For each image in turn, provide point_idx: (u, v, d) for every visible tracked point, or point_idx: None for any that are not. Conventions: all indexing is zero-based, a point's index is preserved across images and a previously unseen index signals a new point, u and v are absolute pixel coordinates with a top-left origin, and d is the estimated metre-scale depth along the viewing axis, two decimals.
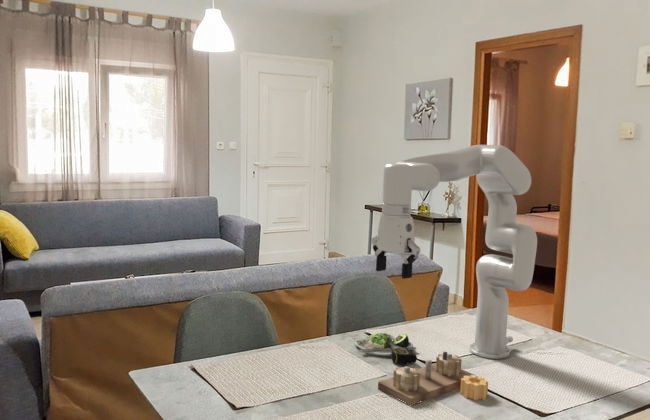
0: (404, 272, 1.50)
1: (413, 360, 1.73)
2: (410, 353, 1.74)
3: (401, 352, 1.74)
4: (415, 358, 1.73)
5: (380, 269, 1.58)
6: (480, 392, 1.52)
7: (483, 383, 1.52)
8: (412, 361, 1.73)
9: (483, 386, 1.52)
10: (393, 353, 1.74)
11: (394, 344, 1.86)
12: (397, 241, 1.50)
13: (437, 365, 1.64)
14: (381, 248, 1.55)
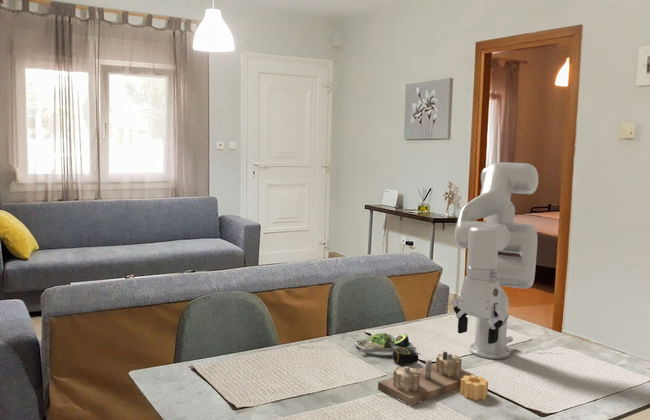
0: (491, 337, 1.48)
1: (415, 360, 1.73)
2: (412, 353, 1.74)
3: (403, 352, 1.75)
4: (417, 358, 1.74)
5: (462, 331, 1.56)
6: (480, 392, 1.52)
7: (483, 383, 1.52)
8: (414, 361, 1.74)
9: (483, 386, 1.52)
10: (395, 353, 1.75)
11: (394, 344, 1.86)
12: (483, 306, 1.48)
13: (437, 365, 1.64)
14: (464, 311, 1.53)
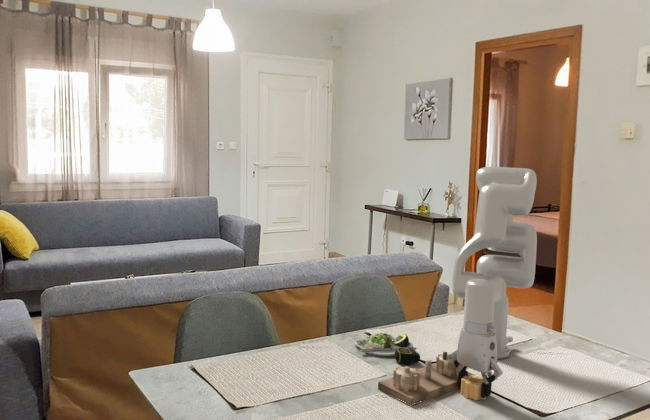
0: (484, 392, 1.50)
1: (416, 360, 1.74)
2: (413, 353, 1.74)
3: (404, 352, 1.75)
4: (418, 358, 1.74)
5: None
6: (480, 392, 1.52)
7: None
8: (415, 361, 1.74)
9: None
10: (396, 353, 1.75)
11: (394, 344, 1.86)
12: (480, 359, 1.49)
13: (437, 365, 1.64)
14: (461, 362, 1.55)
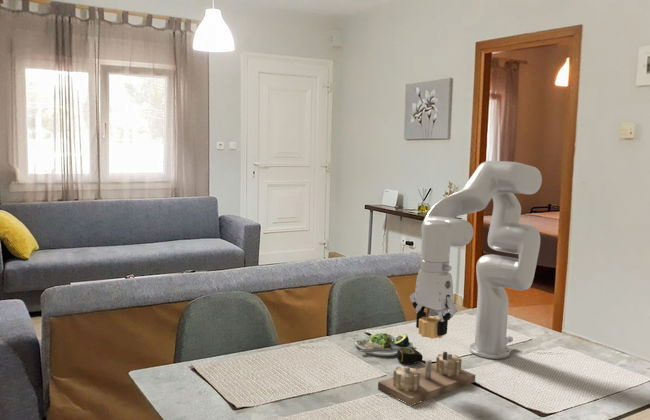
0: (440, 330, 1.54)
1: (419, 359, 1.74)
2: (416, 352, 1.75)
3: (407, 351, 1.75)
4: (421, 357, 1.74)
5: None
6: None
7: None
8: (418, 360, 1.74)
9: None
10: (399, 352, 1.75)
11: (394, 344, 1.86)
12: (436, 298, 1.53)
13: (437, 365, 1.64)
14: (419, 303, 1.58)
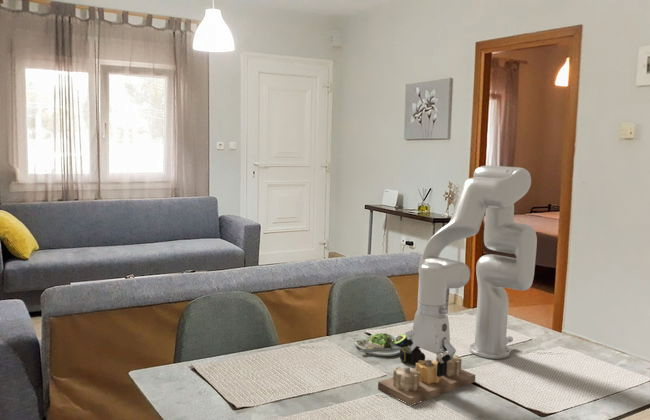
0: (439, 371, 1.54)
1: (421, 359, 1.74)
2: None
3: (409, 351, 1.75)
4: (423, 357, 1.74)
5: (415, 363, 1.62)
6: (433, 376, 1.57)
7: (436, 367, 1.57)
8: None
9: (436, 370, 1.56)
10: (401, 352, 1.75)
11: (394, 344, 1.86)
12: (433, 340, 1.54)
13: None
14: (416, 344, 1.59)
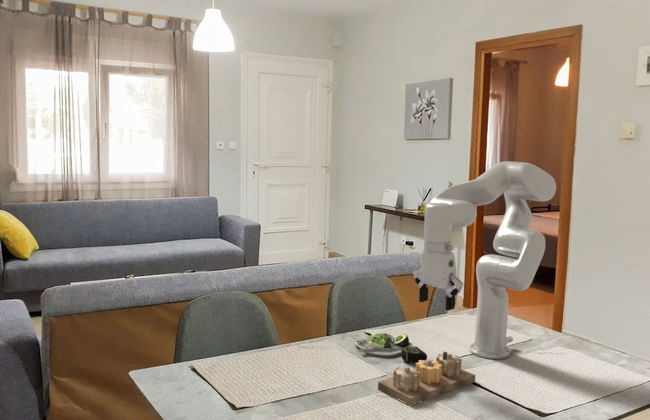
0: (448, 305, 1.61)
1: (423, 359, 1.74)
2: (420, 352, 1.75)
3: (411, 351, 1.76)
4: (425, 357, 1.75)
5: (423, 300, 1.69)
6: (433, 376, 1.57)
7: (436, 367, 1.57)
8: (422, 360, 1.75)
9: (436, 370, 1.56)
10: (403, 352, 1.76)
11: (394, 344, 1.86)
12: (440, 276, 1.60)
13: None
14: (424, 281, 1.66)
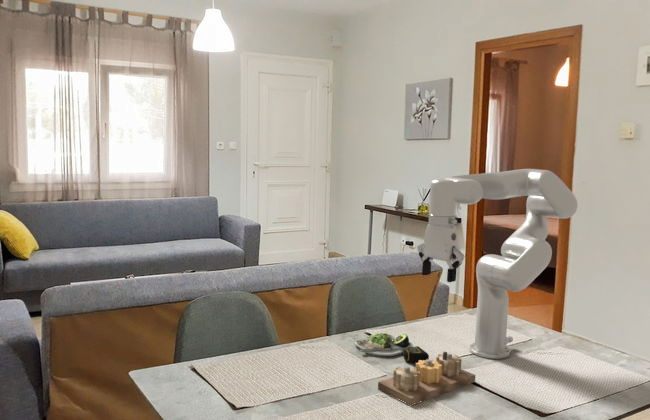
0: (449, 276, 1.68)
1: (425, 359, 1.75)
2: (422, 352, 1.75)
3: (413, 351, 1.76)
4: (427, 357, 1.75)
5: (426, 273, 1.76)
6: (433, 376, 1.57)
7: (436, 367, 1.57)
8: None
9: (436, 370, 1.56)
10: (405, 352, 1.76)
11: (394, 344, 1.86)
12: (443, 249, 1.68)
13: None
14: (427, 255, 1.73)
